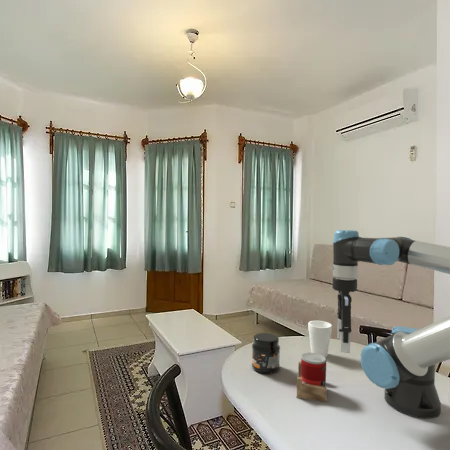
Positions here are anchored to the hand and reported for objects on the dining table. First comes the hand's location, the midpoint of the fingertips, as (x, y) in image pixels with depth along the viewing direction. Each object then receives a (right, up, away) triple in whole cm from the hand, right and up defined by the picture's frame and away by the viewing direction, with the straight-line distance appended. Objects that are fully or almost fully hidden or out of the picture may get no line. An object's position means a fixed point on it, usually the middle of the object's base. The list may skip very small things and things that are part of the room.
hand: (343, 345), depth 106 cm
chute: (-10, -16, +3) cm, 19 cm away
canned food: (-9, -16, +3) cm, 19 cm away
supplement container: (-23, -15, +18) cm, 33 cm away
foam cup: (+1, -15, +31) cm, 34 cm away
